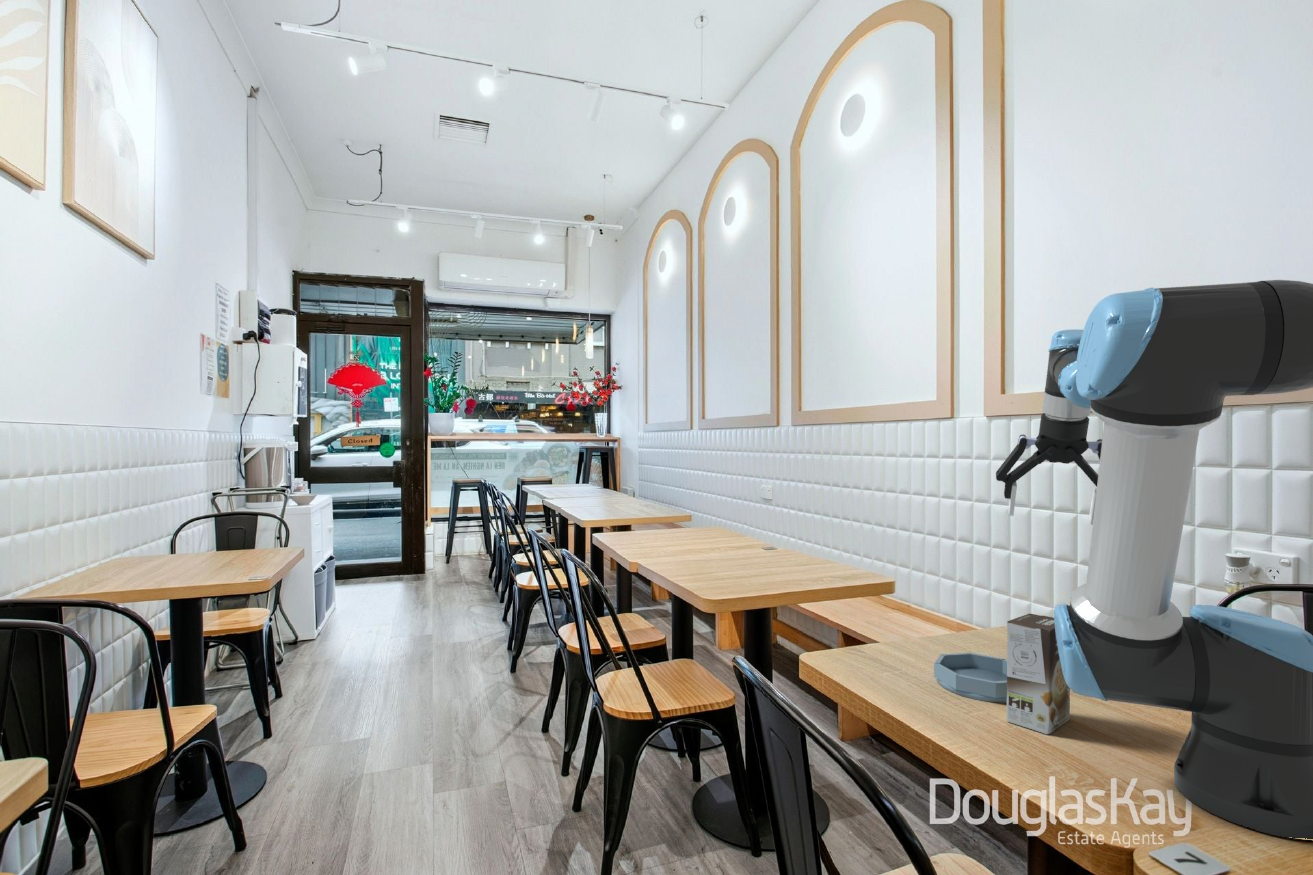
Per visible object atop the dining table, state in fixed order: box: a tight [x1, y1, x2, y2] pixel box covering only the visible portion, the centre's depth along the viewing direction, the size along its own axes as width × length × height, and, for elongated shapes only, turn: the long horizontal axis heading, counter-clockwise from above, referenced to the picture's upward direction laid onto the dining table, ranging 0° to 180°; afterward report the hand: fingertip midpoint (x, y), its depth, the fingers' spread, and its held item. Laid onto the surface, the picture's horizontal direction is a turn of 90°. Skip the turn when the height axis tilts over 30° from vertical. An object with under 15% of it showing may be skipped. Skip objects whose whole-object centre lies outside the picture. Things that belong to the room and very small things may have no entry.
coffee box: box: [1006, 613, 1071, 735], centre depth 100 cm, size 9×6×16 cm
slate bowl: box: [933, 652, 1007, 704], centre depth 115 cm, size 15×15×4 cm
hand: (1050, 517), depth 122 cm, fingers open, 13 cm apart
